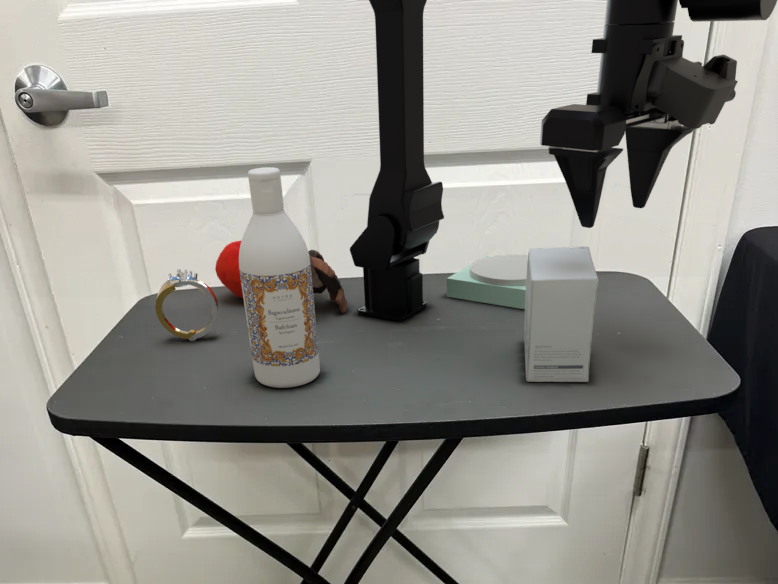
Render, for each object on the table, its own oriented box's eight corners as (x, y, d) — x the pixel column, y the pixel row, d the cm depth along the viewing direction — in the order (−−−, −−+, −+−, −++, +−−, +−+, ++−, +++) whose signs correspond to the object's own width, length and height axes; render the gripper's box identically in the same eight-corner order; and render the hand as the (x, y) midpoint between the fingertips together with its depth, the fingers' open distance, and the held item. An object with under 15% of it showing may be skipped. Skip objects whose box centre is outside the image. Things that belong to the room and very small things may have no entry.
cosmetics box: (521, 343, 86) (527, 246, 80) (580, 343, 85) (591, 245, 79) (522, 382, 77) (530, 277, 71) (588, 383, 77) (601, 276, 70)
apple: (213, 307, 101) (203, 248, 97) (232, 287, 107) (223, 232, 103) (272, 307, 100) (264, 248, 95) (287, 288, 106) (281, 231, 102)
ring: (224, 333, 93) (212, 265, 88) (220, 342, 90) (208, 273, 86) (166, 336, 93) (152, 269, 88) (161, 346, 90) (146, 277, 86)
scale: (445, 296, 100) (446, 271, 98) (485, 273, 107) (485, 249, 105) (540, 312, 94) (542, 285, 92) (574, 286, 101) (577, 261, 99)
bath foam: (258, 393, 78) (228, 180, 67) (252, 367, 84) (222, 167, 72) (325, 384, 79) (307, 173, 68) (314, 359, 85) (295, 160, 73)
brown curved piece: (350, 325, 94) (312, 272, 89) (287, 355, 98) (248, 306, 93) (357, 271, 102) (322, 219, 97) (299, 301, 106) (262, 252, 101)
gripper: (672, 30, 56) (639, 253, 65) (781, 15, 66) (739, 209, 75) (544, 31, 62) (529, 233, 71) (661, 16, 72) (635, 195, 82)
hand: (613, 217), depth 75 cm, fingers open, 9 cm apart
